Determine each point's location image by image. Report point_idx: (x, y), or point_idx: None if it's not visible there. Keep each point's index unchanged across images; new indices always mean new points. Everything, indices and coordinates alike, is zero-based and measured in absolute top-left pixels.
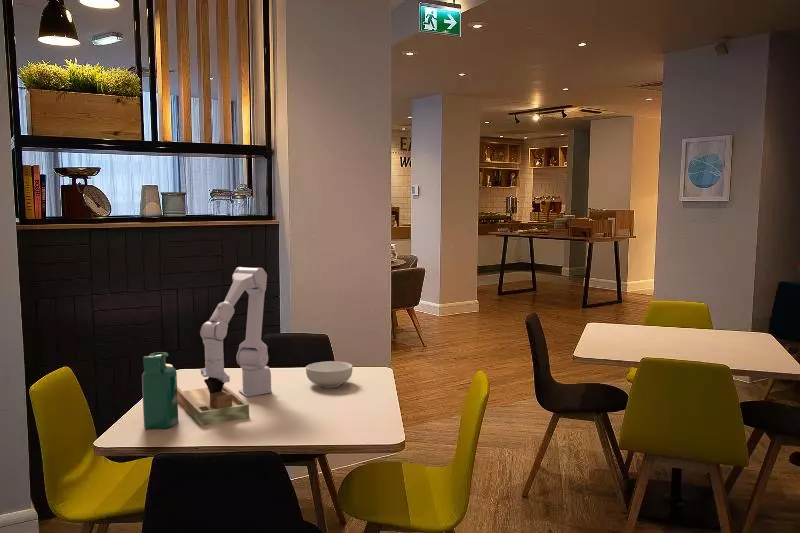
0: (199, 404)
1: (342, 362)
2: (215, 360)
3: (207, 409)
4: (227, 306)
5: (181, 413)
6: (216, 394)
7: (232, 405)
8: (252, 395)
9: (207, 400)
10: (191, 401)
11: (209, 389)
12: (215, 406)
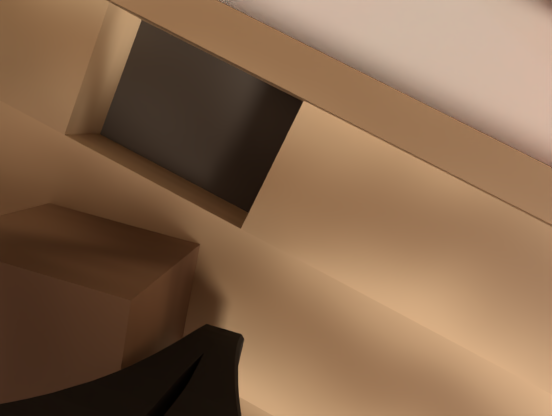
0: (349, 235)
1: None
2: None
3: (200, 199)
4: None
5: (450, 60)
6: (33, 325)
7: None
8: None
9: (384, 380)
10: (336, 100)
11: (202, 405)
12: (81, 220)
